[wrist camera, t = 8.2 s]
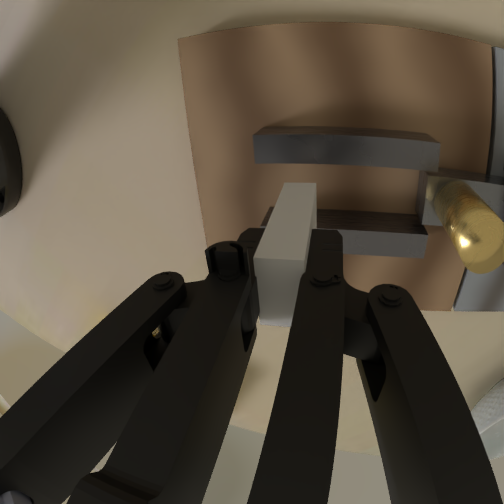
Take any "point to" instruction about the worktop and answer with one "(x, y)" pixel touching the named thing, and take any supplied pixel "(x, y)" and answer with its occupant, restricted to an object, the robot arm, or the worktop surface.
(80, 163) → the worktop surface
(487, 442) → the cereal bowl
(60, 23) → the worktop surface
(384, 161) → the bolt housing
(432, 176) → the bolt
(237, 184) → the door and jamb
